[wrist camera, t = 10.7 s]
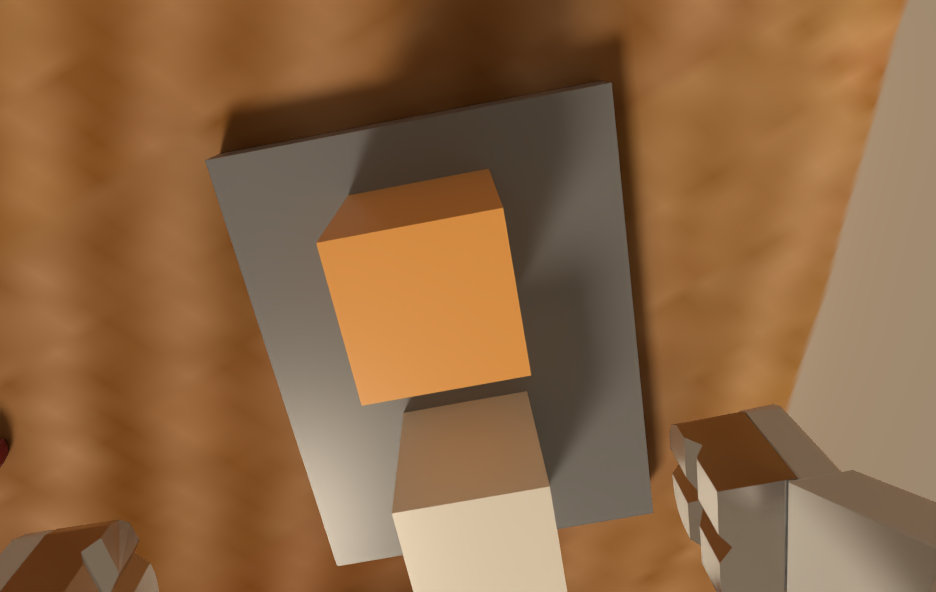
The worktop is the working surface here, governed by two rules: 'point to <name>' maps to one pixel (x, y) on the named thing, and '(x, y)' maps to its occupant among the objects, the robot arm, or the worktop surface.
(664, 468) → the worktop surface
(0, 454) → the pliers
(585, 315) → the plate
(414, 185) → the orange matte cube
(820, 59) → the worktop surface
